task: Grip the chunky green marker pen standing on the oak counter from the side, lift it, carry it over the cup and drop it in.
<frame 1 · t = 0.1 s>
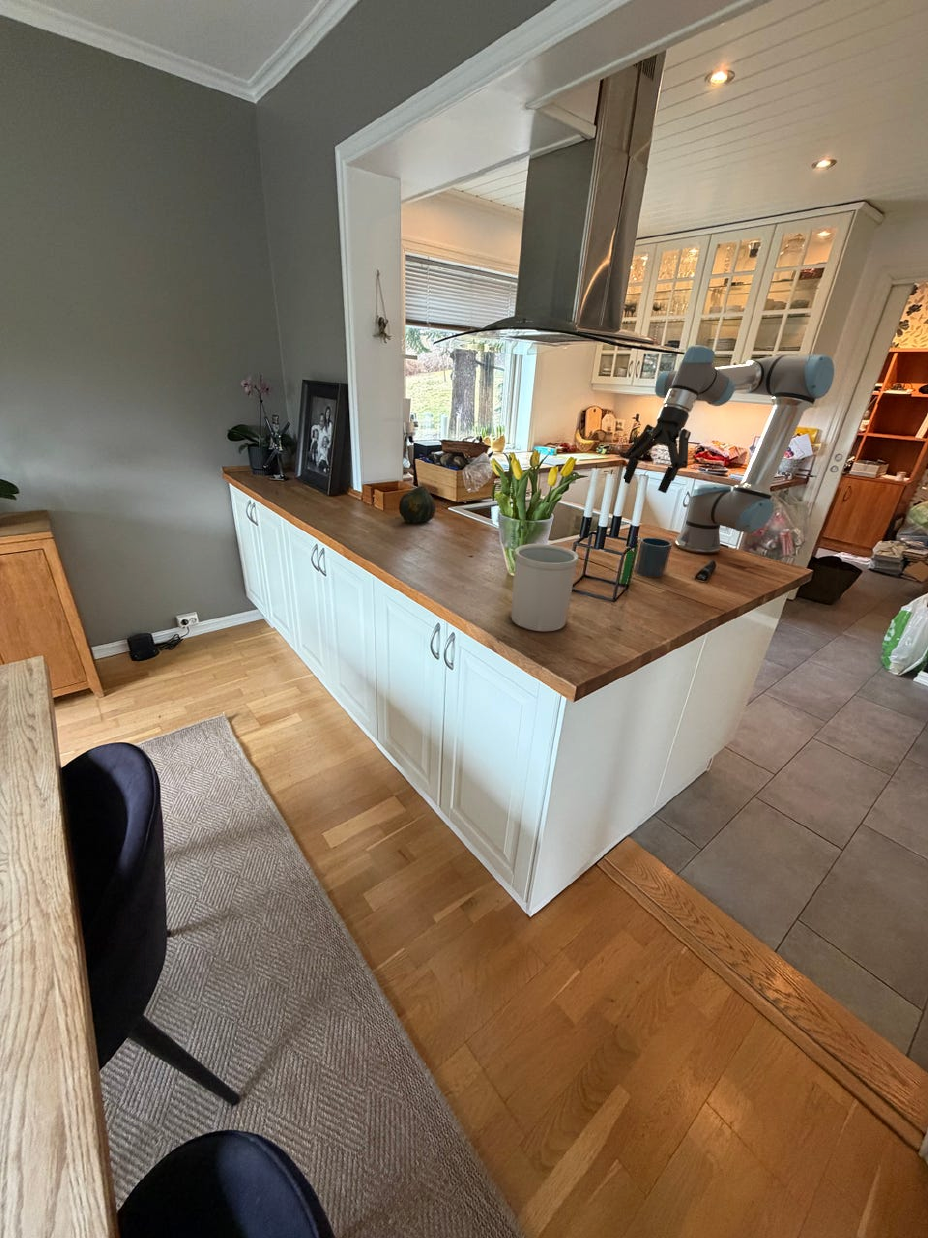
hand: (642, 487, 137), 28 cm above the table, tool tilted 20°, fingers open, 13 cm apart
cup: (649, 572, 155), on the table
squash: (417, 521, 199), on the table
green marker: (625, 582, 146), on the table
utensil holder: (538, 619, 121), on the table
electric trimmer: (705, 575, 155), on the table
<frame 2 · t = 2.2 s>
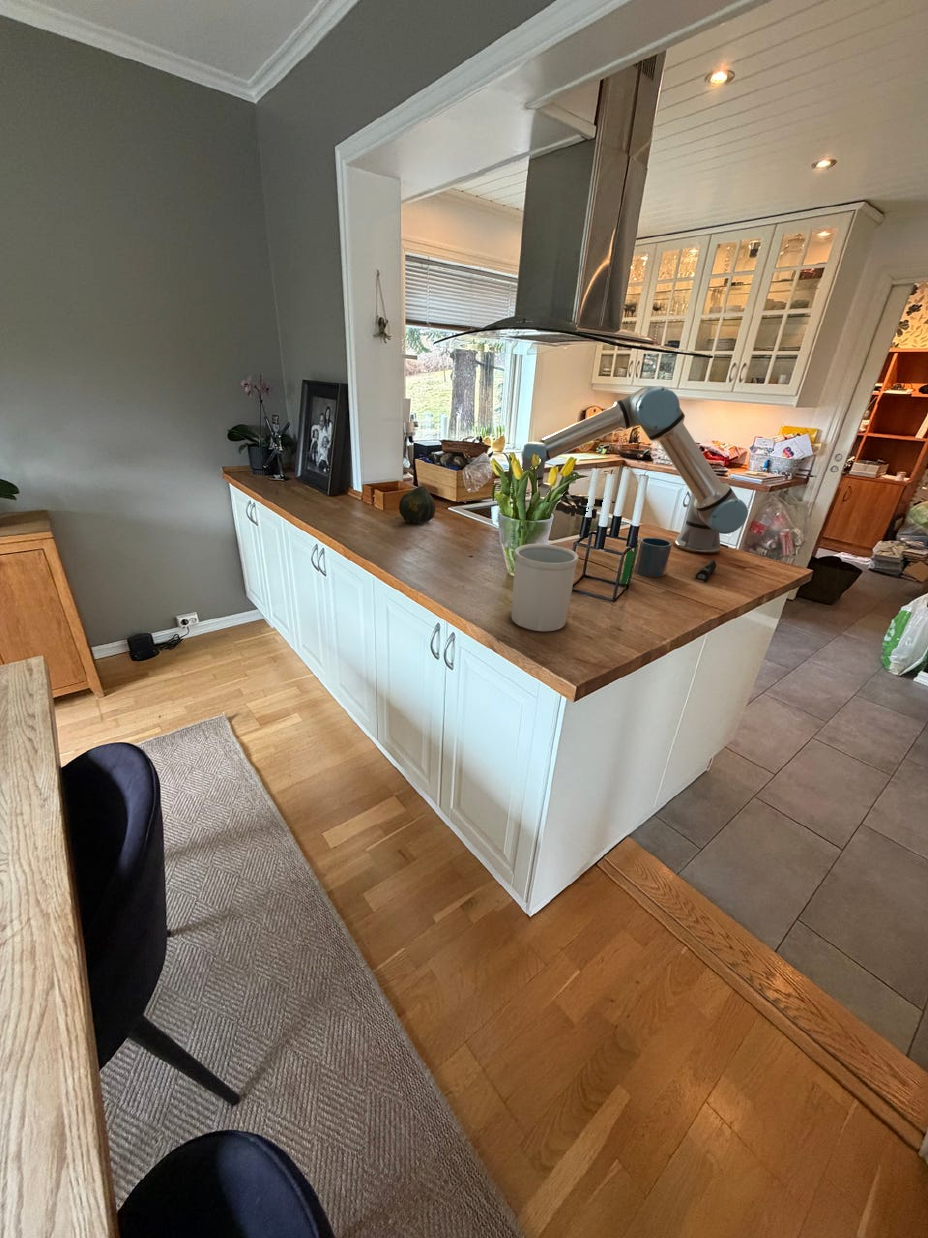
hand: (609, 510, 143), 20 cm above the table, tool horizontal, fingers open, 13 cm apart
nothing on the table moved.
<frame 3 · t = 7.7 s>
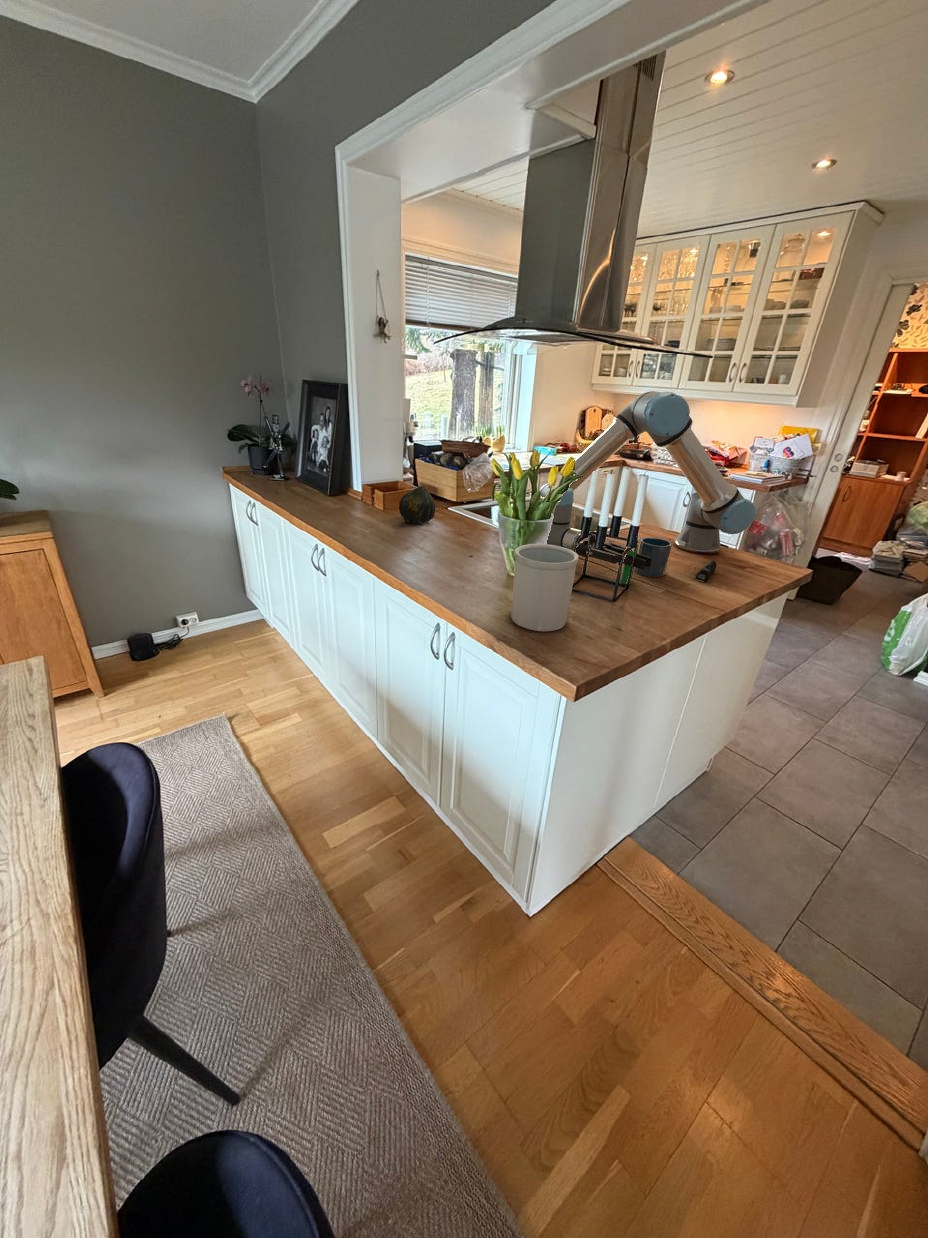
hand: (647, 563, 139), 8 cm above the table, tool horizontal, fingers closed on green marker, 3 cm apart
green marker: (625, 582, 146), on the table, touching gripper
everything else where it was.
when the fingers open (13 cm above the table, at t = 14.9 s): green marker drops 5 cm, resting on cup.
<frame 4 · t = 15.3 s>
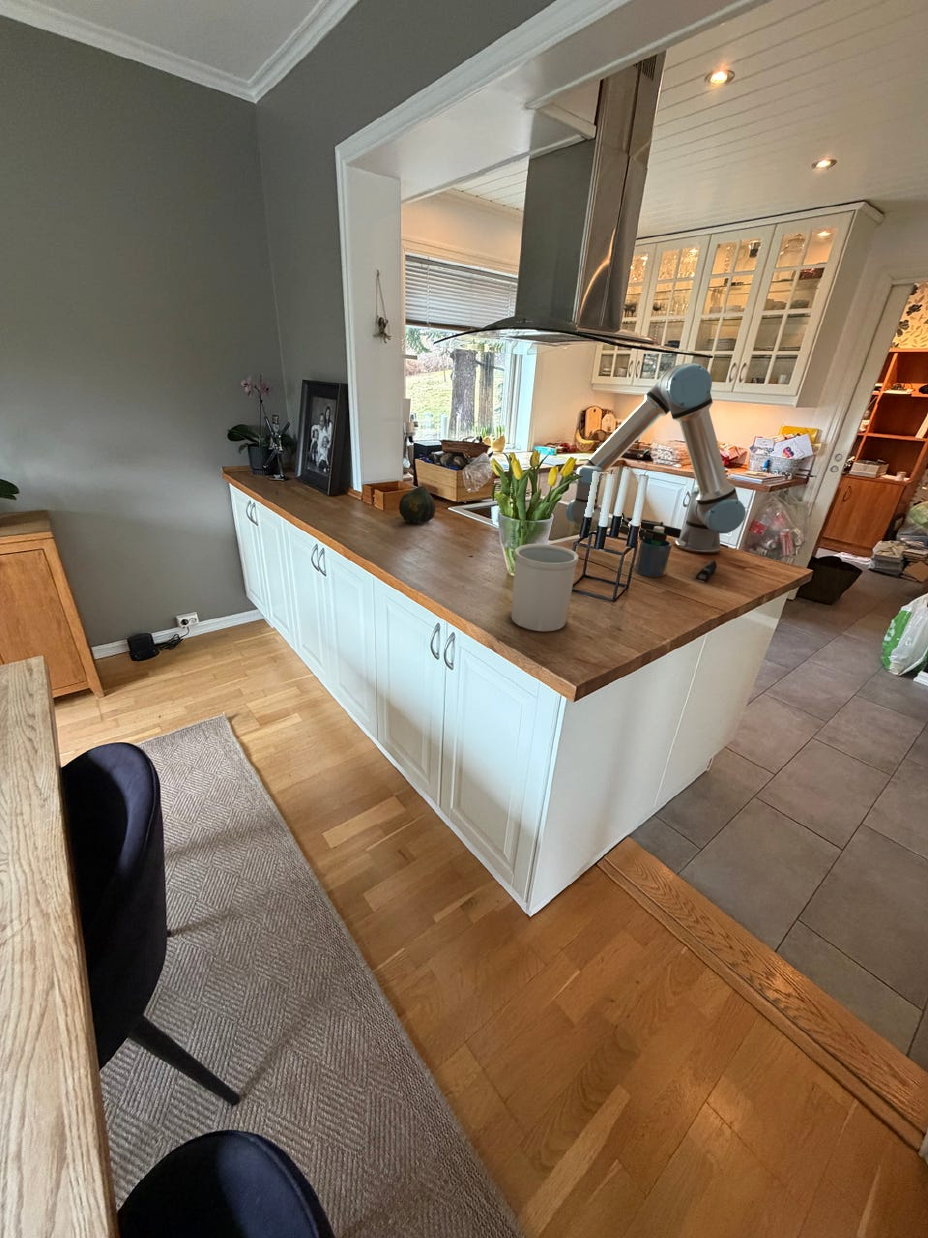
hand: (672, 536, 146), 13 cm above the table, tool horizontal, fingers open, 8 cm apart
green marker: (649, 570, 155), point 1 cm above the table, touching cup
everything else where it was.
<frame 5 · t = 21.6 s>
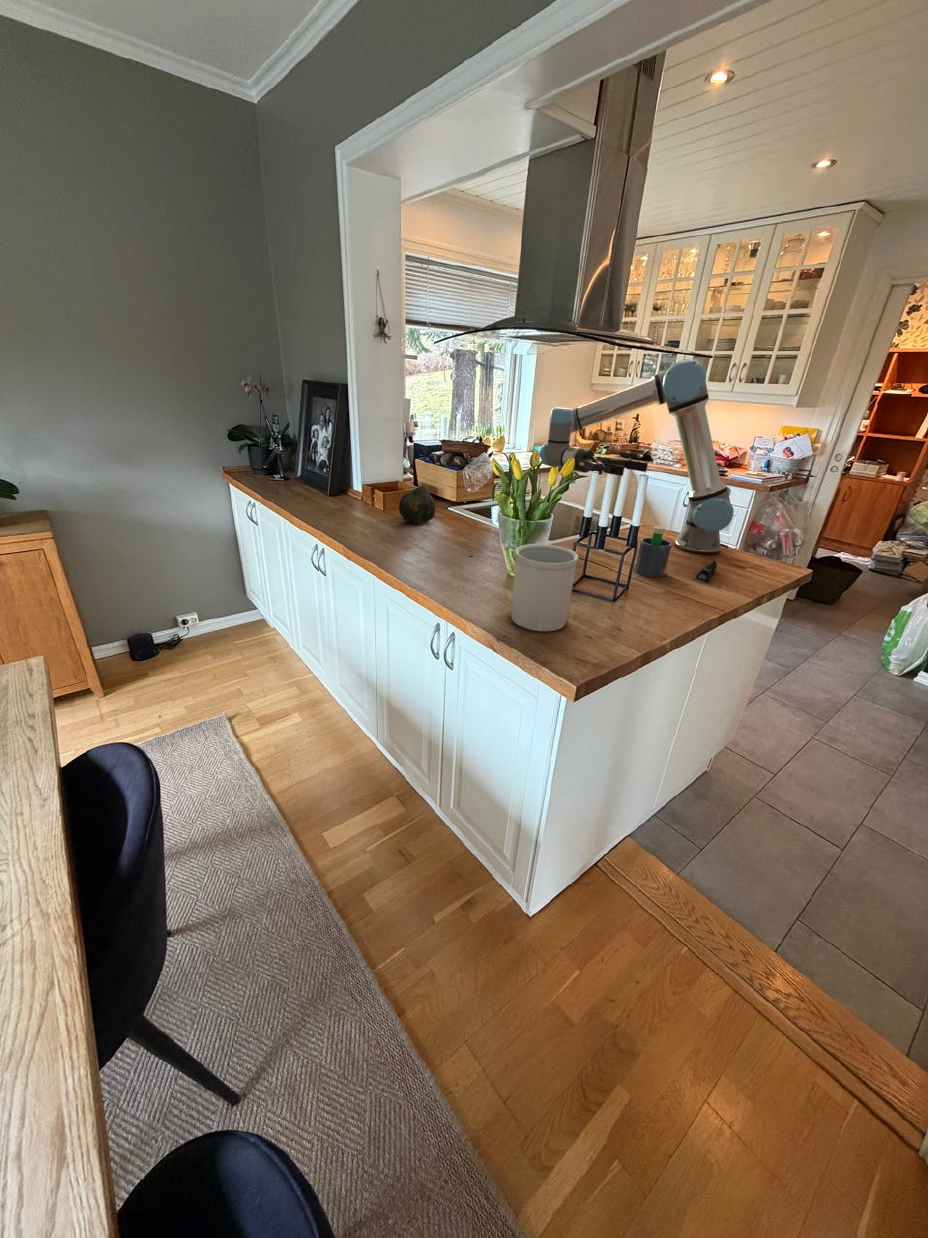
hand: (635, 469, 151), 30 cm above the table, tool horizontal, fingers open, 13 cm apart
nothing on the table moved.
at the end: green marker inside the target area in the cup (0.0 cm from its centre), point 0.6 cm above the cup's base; the gripper is holding nothing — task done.
